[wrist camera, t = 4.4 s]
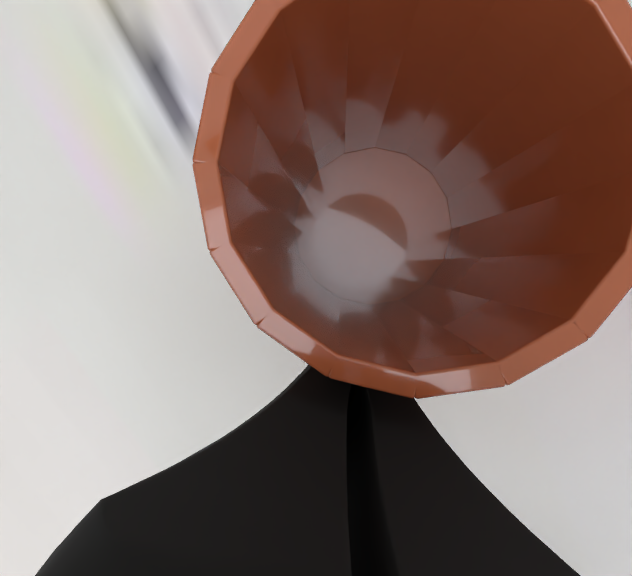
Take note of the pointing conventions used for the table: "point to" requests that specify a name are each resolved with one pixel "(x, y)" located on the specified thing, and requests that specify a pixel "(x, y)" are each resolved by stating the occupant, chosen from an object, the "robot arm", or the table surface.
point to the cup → (422, 183)
